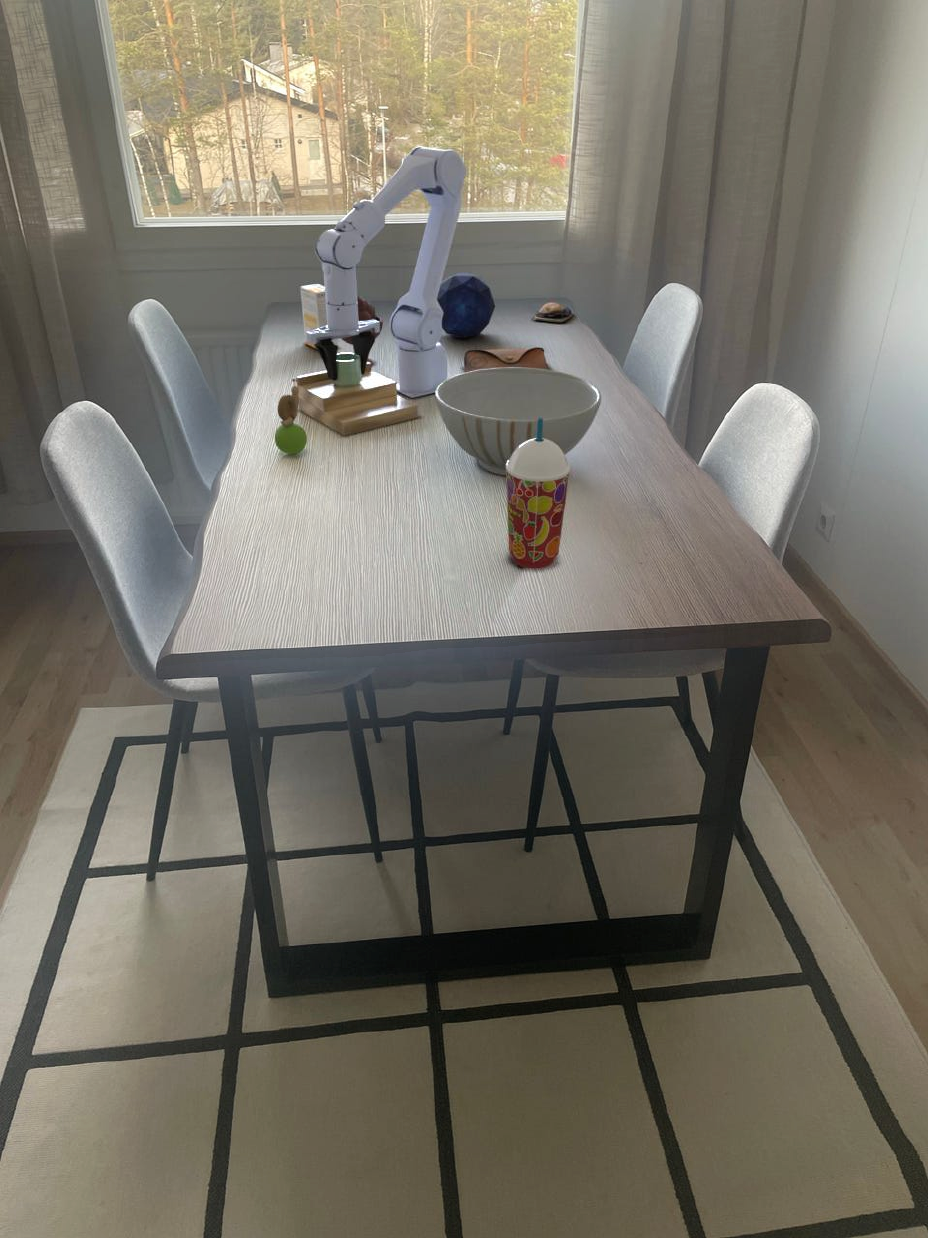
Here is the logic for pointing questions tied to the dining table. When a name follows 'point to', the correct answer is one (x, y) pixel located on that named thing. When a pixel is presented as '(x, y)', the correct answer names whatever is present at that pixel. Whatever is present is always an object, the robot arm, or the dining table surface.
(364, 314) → the ice cream bowl
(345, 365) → the green cup
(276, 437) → the snail figurine
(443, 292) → the decorative orb
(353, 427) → the shelf
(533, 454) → the smoothie
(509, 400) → the decorative bowl
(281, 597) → the dining table surface
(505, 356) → the sunglasses case
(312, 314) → the supplement box
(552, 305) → the sandwich
